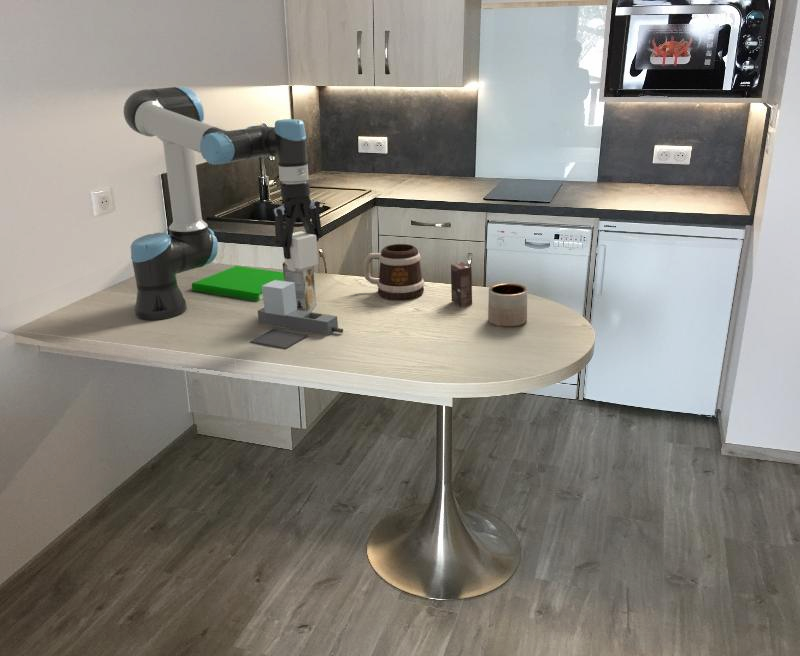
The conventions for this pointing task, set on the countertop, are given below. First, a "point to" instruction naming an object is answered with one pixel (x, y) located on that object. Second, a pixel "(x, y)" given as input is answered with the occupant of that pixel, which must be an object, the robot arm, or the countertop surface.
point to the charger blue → (279, 297)
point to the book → (238, 282)
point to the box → (461, 284)
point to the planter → (507, 305)
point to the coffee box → (302, 287)
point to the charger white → (304, 250)
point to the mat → (279, 338)
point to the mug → (397, 272)
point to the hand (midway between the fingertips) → (301, 267)
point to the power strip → (302, 321)
